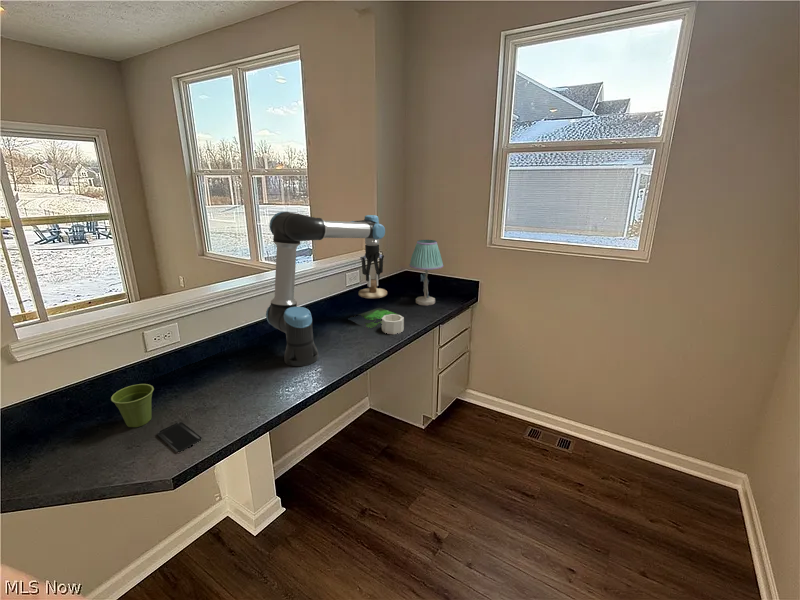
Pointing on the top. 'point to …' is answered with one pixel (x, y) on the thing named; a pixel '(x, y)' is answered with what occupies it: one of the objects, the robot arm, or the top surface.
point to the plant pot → (134, 404)
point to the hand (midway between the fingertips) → (372, 285)
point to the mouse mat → (375, 316)
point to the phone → (179, 436)
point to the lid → (372, 291)
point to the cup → (392, 324)
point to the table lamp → (426, 265)
